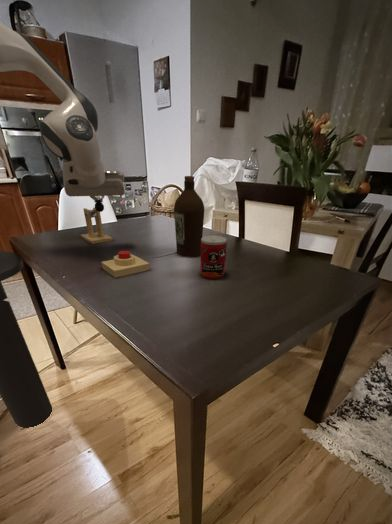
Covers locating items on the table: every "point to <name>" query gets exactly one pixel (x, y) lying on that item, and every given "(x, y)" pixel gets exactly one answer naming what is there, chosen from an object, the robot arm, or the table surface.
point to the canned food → (213, 256)
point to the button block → (125, 266)
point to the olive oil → (189, 220)
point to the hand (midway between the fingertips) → (98, 201)
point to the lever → (96, 209)
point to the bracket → (92, 236)
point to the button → (124, 254)
